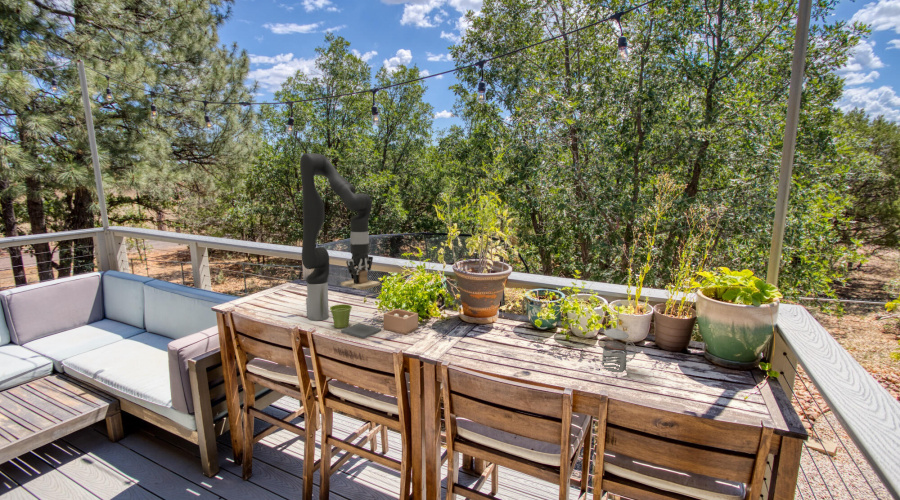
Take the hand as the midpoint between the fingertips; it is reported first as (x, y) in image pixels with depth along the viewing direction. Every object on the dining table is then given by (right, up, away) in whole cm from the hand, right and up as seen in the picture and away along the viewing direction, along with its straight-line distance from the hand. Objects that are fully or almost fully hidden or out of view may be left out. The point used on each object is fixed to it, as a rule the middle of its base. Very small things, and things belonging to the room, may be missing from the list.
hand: (360, 282), depth 176 cm
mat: (0, -22, +4) cm, 22 cm away
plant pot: (-11, -21, +10) cm, 25 cm away
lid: (0, -1, 0) cm, 1 cm away
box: (+16, -21, +8) cm, 28 cm away
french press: (+96, -29, -30) cm, 105 cm away
